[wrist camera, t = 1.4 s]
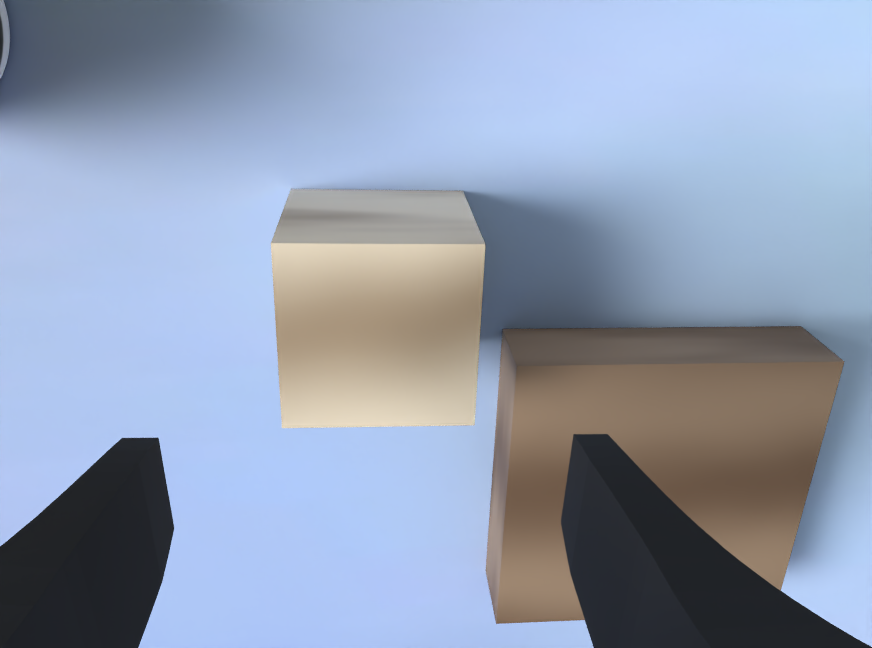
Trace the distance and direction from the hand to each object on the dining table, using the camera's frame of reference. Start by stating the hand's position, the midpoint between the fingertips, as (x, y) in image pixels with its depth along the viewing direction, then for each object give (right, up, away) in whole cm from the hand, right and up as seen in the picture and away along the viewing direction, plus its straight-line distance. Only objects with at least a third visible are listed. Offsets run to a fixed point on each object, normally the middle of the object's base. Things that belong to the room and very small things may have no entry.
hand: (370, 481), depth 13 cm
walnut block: (+8, -2, +14) cm, 16 cm away
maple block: (-1, +4, +10) cm, 11 cm away
